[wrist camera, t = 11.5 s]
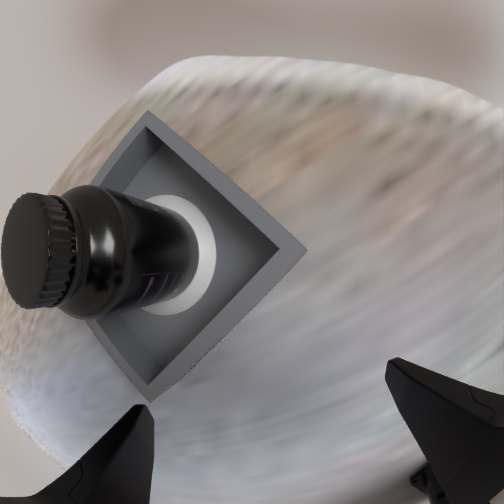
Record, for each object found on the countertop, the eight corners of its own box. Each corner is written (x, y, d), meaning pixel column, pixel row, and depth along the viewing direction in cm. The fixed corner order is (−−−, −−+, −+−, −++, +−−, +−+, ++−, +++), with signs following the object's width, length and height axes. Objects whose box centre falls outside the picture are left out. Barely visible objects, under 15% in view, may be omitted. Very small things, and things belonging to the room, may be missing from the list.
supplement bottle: (113, 247, 21) (-15, 235, 9) (170, 190, 20) (43, 132, 8) (154, 319, 20) (21, 358, 8) (222, 265, 19) (91, 268, 7)
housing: (307, 250, 19) (305, 247, 15) (175, 383, 21) (150, 402, 17) (172, 130, 22) (147, 109, 18) (78, 257, 23) (48, 256, 20)
